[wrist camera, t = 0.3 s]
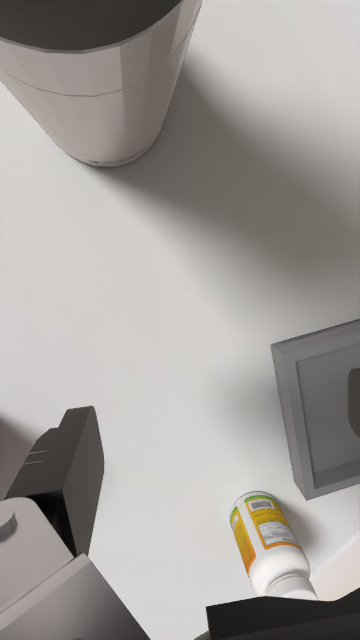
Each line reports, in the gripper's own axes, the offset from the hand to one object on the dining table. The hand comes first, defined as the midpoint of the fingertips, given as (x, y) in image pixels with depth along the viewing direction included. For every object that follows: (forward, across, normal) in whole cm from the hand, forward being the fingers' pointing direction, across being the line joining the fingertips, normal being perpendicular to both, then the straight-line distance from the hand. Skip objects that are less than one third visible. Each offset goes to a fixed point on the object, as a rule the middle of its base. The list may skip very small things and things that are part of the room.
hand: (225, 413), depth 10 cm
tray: (+20, -17, +12) cm, 29 cm away
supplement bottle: (+20, -6, +24) cm, 31 cm away
